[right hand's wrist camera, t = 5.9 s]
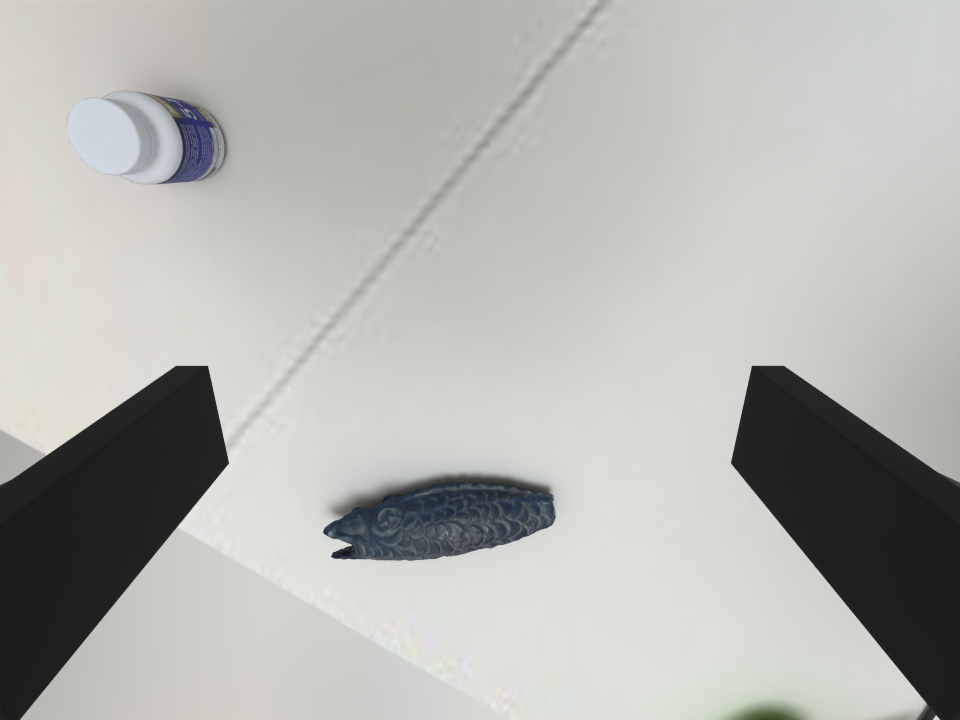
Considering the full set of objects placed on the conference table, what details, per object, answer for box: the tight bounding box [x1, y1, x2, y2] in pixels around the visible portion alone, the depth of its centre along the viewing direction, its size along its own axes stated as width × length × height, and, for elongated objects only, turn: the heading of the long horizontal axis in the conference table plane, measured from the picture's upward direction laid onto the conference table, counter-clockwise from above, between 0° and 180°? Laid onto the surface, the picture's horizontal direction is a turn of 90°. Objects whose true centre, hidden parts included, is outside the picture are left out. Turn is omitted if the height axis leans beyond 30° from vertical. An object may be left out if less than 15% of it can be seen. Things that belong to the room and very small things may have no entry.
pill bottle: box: [67, 91, 225, 184], centre depth 32 cm, size 5×5×9 cm
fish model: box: [323, 482, 555, 561], centre depth 46 cm, size 7×21×5 cm, turn 95°
